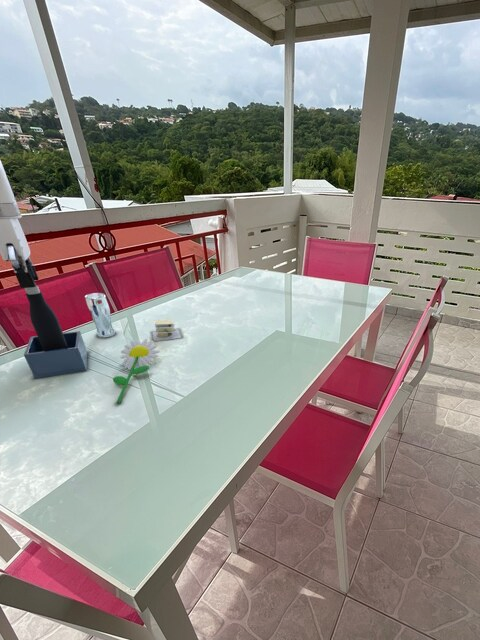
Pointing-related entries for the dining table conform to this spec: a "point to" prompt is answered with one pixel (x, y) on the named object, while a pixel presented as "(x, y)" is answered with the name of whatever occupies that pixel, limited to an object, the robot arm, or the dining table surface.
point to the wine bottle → (44, 319)
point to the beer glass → (100, 314)
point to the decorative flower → (136, 361)
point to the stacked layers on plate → (165, 330)
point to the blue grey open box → (57, 357)
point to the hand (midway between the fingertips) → (30, 283)
